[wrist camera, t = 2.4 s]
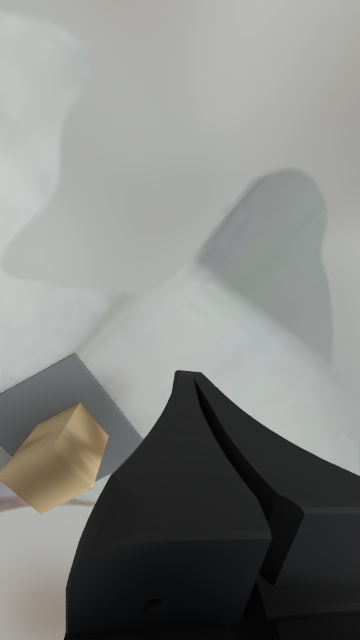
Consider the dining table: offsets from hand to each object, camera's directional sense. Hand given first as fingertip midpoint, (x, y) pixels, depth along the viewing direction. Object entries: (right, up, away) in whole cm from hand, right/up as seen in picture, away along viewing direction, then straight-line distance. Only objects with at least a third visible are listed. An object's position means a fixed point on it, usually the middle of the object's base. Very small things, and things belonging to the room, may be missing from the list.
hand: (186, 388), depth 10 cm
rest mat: (-12, -8, +10) cm, 18 cm away
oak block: (-11, -8, +10) cm, 17 cm away
